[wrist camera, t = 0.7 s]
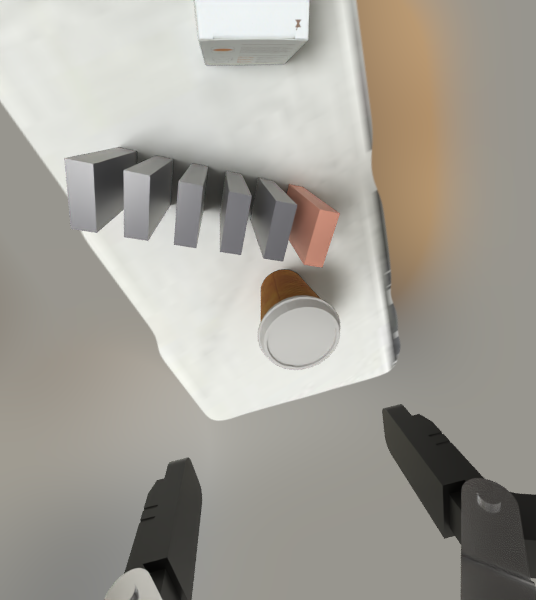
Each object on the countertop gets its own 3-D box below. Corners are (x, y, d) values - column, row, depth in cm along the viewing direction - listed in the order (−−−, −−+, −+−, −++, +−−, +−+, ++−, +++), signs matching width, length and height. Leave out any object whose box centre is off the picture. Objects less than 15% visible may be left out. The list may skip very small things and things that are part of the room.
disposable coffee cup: (313, 313, 46) (340, 367, 36) (251, 320, 45) (261, 377, 35) (315, 255, 41) (347, 297, 31) (246, 261, 40) (256, 308, 30)
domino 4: (219, 213, 37) (220, 251, 26) (225, 170, 34) (229, 191, 23) (234, 216, 37) (241, 254, 26) (241, 173, 35) (251, 195, 24)
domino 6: (279, 224, 38) (303, 264, 27) (289, 184, 36) (320, 209, 25) (292, 227, 39) (322, 267, 28) (303, 187, 37) (339, 213, 25)
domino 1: (119, 195, 34) (70, 228, 23) (118, 147, 32) (64, 158, 21) (136, 198, 35) (96, 232, 23) (136, 151, 32) (93, 163, 21)
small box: (284, -10, 28) (316, -77, 19) (284, 66, 30) (311, 41, 21) (195, -13, 27) (183, -83, 18) (204, 66, 30) (197, 40, 21)
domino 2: (154, 201, 35) (124, 237, 24) (156, 155, 33) (123, 170, 22) (170, 204, 35) (148, 240, 24) (173, 159, 33) (149, 175, 22)
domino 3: (187, 207, 36) (173, 244, 25) (191, 163, 34) (178, 181, 22) (203, 210, 36) (196, 248, 25) (208, 166, 34) (203, 186, 23)
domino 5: (250, 219, 38) (263, 258, 26) (258, 177, 35) (276, 200, 24) (264, 222, 38) (283, 261, 27) (272, 180, 36) (297, 205, 25)
